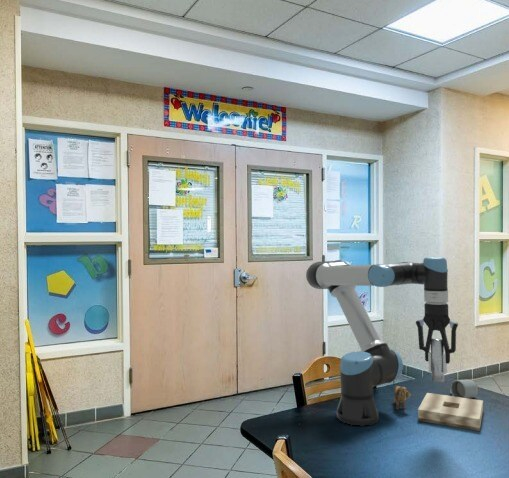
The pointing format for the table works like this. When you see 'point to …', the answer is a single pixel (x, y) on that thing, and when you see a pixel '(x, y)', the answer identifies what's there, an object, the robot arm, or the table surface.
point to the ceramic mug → (464, 388)
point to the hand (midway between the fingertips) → (437, 371)
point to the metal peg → (437, 359)
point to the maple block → (451, 411)
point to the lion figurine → (400, 396)
